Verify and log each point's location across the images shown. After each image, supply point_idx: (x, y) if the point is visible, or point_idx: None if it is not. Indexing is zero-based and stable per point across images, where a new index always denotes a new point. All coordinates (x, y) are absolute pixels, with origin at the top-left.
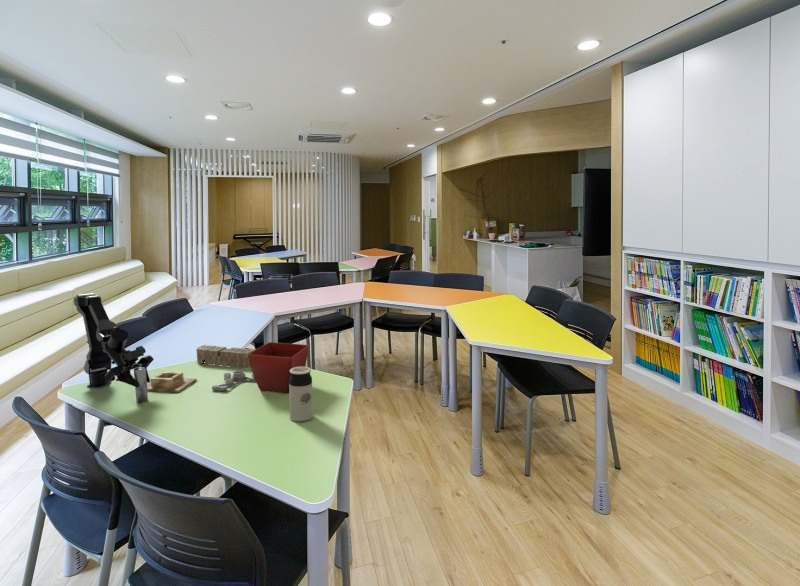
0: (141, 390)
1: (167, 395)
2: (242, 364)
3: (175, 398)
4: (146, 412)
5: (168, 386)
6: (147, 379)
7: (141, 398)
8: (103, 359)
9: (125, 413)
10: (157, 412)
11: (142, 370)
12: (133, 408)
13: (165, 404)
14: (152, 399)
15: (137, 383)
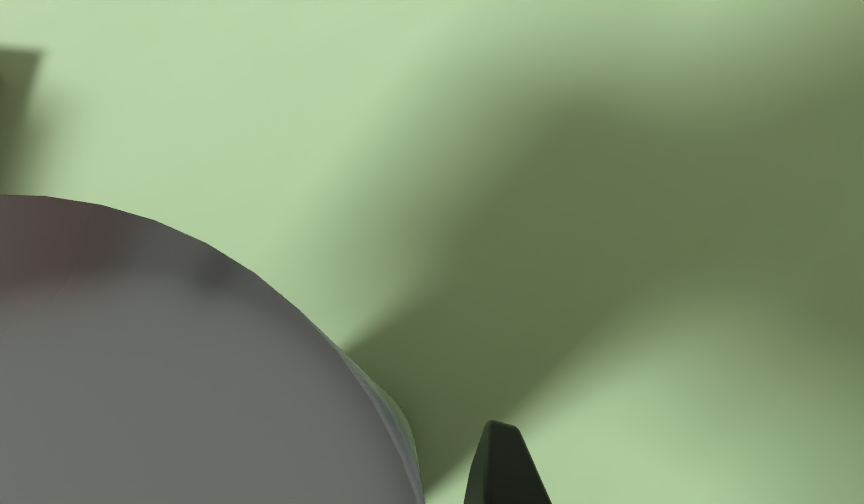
0: (401, 414)
1: (104, 184)
2: None
3: (234, 25)
4: (736, 165)
5: None
6: None
7: (408, 423)
8: None
9: (819, 439)
10: (714, 34)
11: (245, 282)
12: (632, 427)
13: (453, 57)
14: None
15: (503, 468)
